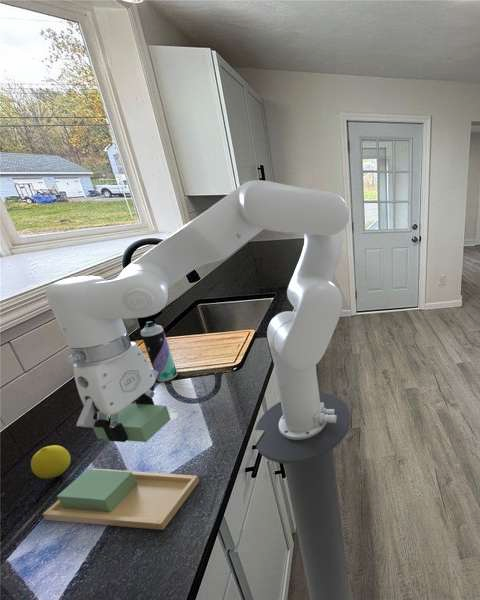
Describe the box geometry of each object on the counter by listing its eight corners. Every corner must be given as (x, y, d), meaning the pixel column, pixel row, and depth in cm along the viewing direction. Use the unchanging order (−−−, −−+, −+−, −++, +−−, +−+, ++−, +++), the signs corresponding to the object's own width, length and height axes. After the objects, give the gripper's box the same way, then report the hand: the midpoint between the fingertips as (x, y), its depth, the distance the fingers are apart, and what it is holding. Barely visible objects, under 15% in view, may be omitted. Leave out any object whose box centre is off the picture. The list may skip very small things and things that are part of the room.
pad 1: (170, 419, 64) (166, 405, 63) (146, 442, 58) (140, 427, 57) (126, 416, 65) (120, 402, 63) (97, 438, 59) (90, 424, 58)
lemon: (82, 462, 72) (69, 436, 69) (63, 484, 67) (47, 456, 64) (55, 466, 71) (39, 439, 68) (32, 488, 66) (15, 461, 63)
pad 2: (137, 484, 66) (131, 472, 65) (110, 512, 61) (104, 499, 59) (93, 480, 67) (87, 469, 66) (63, 508, 61) (56, 496, 60)
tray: (199, 481, 67) (197, 475, 67) (163, 530, 58) (160, 524, 57) (96, 473, 69) (94, 468, 69) (45, 519, 60) (42, 514, 59)
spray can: (155, 383, 99) (135, 327, 92) (159, 374, 104) (140, 319, 96) (175, 379, 101) (157, 323, 94) (178, 370, 106) (161, 316, 98)
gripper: (69, 377, 46) (111, 466, 53) (161, 325, 62) (185, 398, 69) (24, 375, 47) (71, 462, 54) (127, 324, 63) (153, 397, 70)
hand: (134, 426), depth 61 cm, fingers closed on pad 1, 6 cm apart
